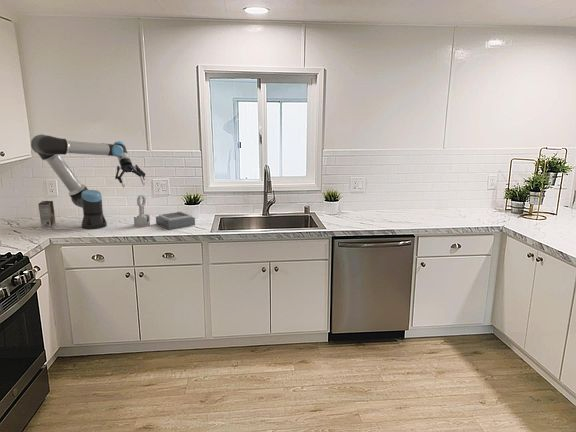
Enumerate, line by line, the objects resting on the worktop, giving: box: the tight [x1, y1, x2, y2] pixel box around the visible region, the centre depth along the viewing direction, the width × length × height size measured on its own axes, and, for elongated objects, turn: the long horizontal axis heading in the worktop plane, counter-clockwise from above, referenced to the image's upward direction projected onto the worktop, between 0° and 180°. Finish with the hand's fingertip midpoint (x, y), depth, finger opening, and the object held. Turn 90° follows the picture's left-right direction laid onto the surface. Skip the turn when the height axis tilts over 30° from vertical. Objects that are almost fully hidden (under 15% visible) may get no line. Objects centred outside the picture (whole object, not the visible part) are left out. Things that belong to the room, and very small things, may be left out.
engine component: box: [133, 194, 151, 228], centre depth 285 cm, size 11×20×10 cm
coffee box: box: [37, 200, 56, 229], centre depth 280 cm, size 9×6×16 cm
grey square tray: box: [155, 211, 196, 230], centre depth 290 cm, size 19×19×6 cm
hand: (134, 185), depth 289 cm, fingers open, 13 cm apart
